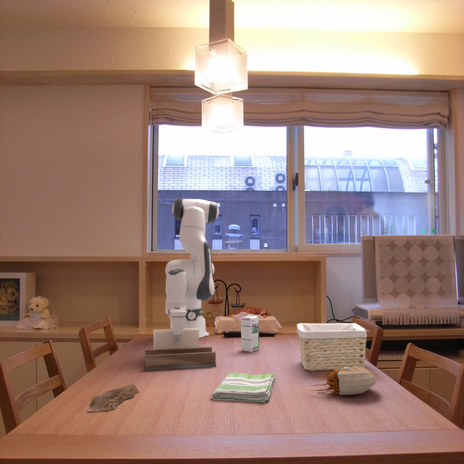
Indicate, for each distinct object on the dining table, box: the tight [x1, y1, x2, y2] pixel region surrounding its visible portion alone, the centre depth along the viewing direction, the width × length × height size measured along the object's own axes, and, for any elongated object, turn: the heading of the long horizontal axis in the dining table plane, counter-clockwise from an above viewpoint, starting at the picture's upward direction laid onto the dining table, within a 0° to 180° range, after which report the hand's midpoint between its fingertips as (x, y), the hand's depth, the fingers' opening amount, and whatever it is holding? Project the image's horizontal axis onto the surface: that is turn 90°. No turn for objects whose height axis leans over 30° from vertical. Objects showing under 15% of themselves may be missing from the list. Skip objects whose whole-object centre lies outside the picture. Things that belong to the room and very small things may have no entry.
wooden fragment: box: [86, 383, 140, 414], centre depth 128 cm, size 26×11×1 cm, turn 163°
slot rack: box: [144, 346, 217, 372], centre depth 164 cm, size 12×26×5 cm, turn 102°
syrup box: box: [240, 315, 260, 353], centre depth 187 cm, size 6×6×14 cm
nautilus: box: [308, 366, 378, 396], centre depth 131 cm, size 8×22×15 cm
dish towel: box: [210, 372, 276, 404], centre depth 135 cm, size 17×23×4 cm
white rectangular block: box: [153, 328, 200, 350], centre depth 177 cm, size 5×18×10 cm, turn 103°
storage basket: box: [296, 322, 368, 372], centre depth 161 cm, size 24×16×15 cm
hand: (176, 342), depth 177 cm, fingers closed on white rectangular block, 5 cm apart
